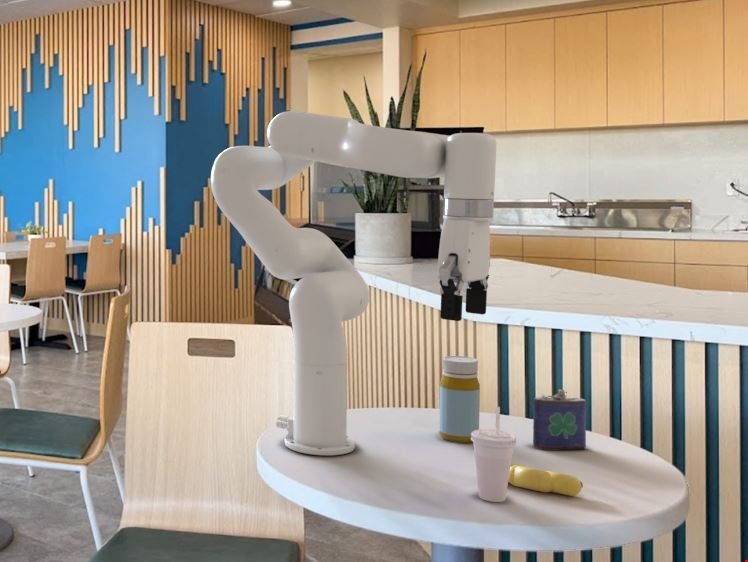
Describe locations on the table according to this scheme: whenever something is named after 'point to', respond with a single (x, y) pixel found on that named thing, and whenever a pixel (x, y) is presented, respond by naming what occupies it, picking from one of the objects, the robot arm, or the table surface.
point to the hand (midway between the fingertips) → (463, 316)
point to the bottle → (459, 399)
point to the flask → (559, 422)
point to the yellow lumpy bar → (544, 480)
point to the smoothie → (493, 460)
